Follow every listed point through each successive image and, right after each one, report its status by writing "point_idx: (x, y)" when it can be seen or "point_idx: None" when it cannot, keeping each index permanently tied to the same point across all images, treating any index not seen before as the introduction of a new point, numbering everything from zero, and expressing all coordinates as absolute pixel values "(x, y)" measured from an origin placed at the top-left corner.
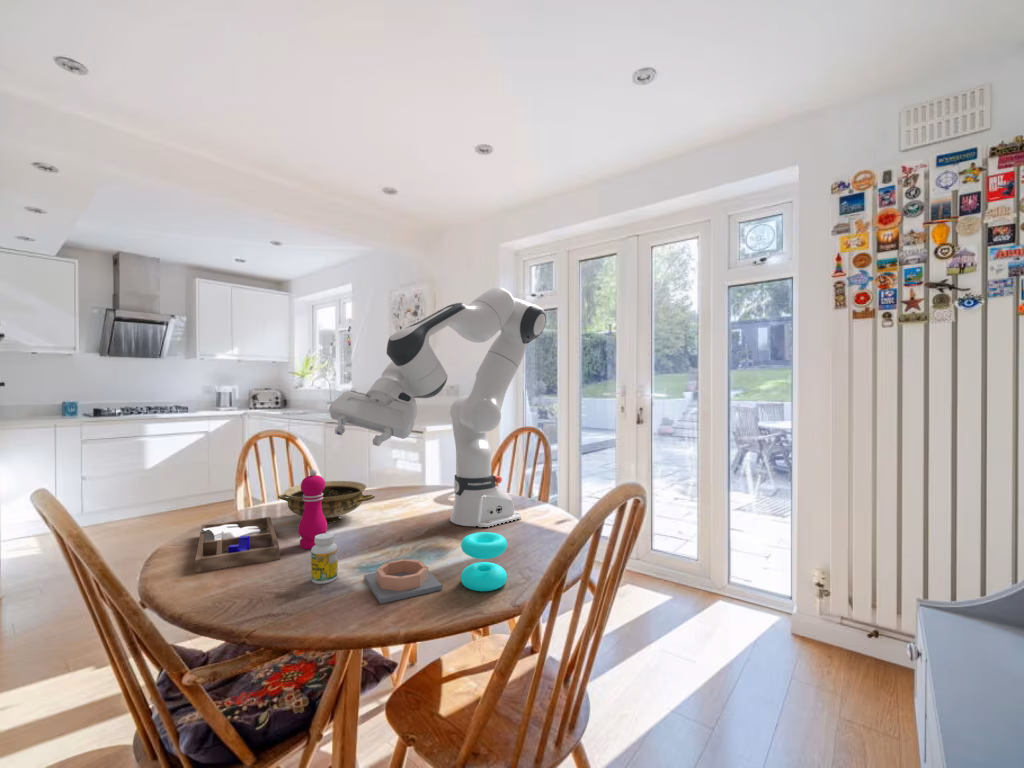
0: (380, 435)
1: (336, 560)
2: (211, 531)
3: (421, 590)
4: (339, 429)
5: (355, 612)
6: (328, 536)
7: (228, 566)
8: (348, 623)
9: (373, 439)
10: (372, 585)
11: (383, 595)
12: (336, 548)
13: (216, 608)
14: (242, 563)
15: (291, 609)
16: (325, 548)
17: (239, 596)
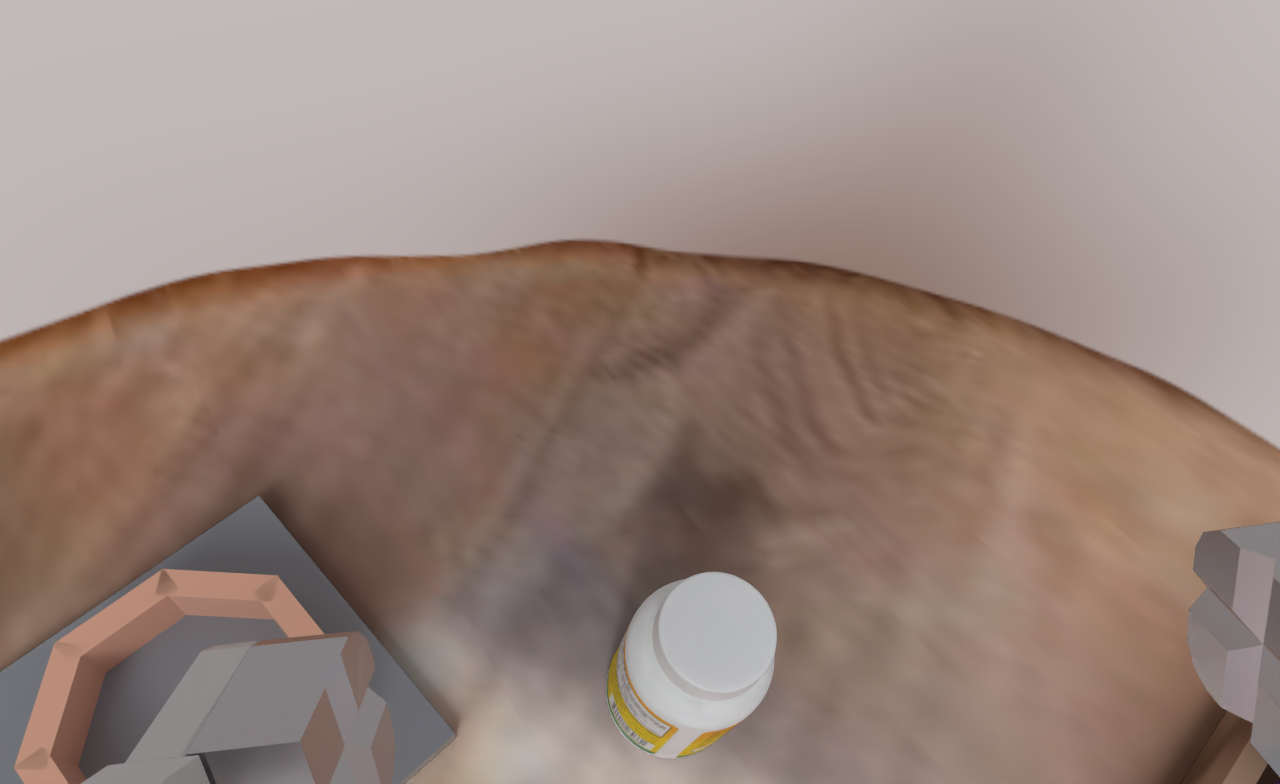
0: (163, 770)
1: (618, 680)
2: None
3: (65, 628)
4: (1266, 523)
5: (347, 423)
6: (685, 624)
7: None
8: (338, 349)
9: (340, 639)
10: (352, 618)
11: (255, 528)
12: (629, 666)
13: (888, 365)
14: (1206, 753)
15: (618, 403)
16: (665, 598)
17: (896, 457)
